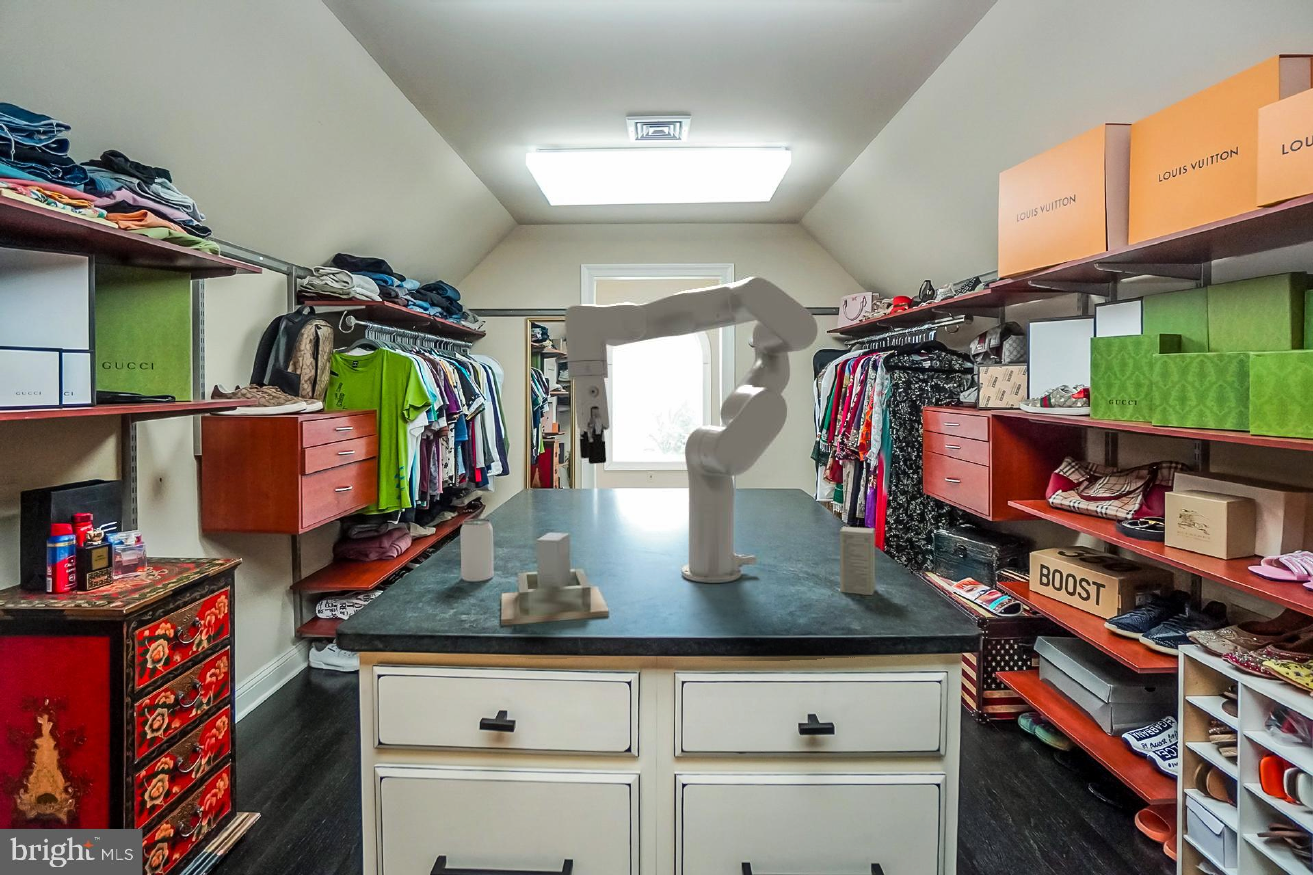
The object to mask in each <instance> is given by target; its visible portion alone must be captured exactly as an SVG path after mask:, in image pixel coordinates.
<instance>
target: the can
mask: <svg viewBox="0 0 1313 875" xmlns="http://www.w3.org/2000/svg"><path fill="white" fill-rule="evenodd" d="M461 523H462V526H460V527H461V528H460V531H459V532H460V566H461V568H460V569H461V573H460V574H461V579H462V580H463V581H464V582H467V583H481V582H486V581H489V580H491V579H492V578H493V576H494V574H495V573H494V533H493V532H494V529H493V526H492V524H491V519H488V518H471V519H466V520H464V521H462V522H461Z"/></svg>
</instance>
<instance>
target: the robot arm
mask: <svg viewBox="0 0 1313 875" xmlns="http://www.w3.org/2000/svg"><path fill="white" fill-rule="evenodd" d="M564 313H565V314H564V321H565V322H564V323H565V339H566V356H567V357H566V359H567V360H566V361H567V376H568V380H571V381H572V380H573V381H574V396H575V397H574V399H575V402H574V403H575V412H576V413H575V414H576V425H577V428H578V429H579V430H580V431H579V450H580V458H581V459H588V463H589V464H590V465H593V464H594V465H595V464H605V463H606V462H607V453H606V452H607V451H606V440H605V439H606V437H605V433H604V431H608V430H609V428H610V417H609V406H608V396H607V388H606V387H607V386H606V382H605V379H609V368H608V367H609V366H608V355H607V354H608V351H607V346H611V347H618V346H623V345H628V344H633V343H637V342H644V341H648V340H654V339H659V338H666V337H668V338H669V337H679V336H685V335H689V334H695V333H701V332H705V331H710V330H715V329H720V328H721V329H722V328H726V327H733V326H736V325H740V324H744V323H749V322H754V321H757V322H756V324H755V325H754V328H753V331H752V342H753V343H752V345H753V348H754V361H753V364H752V366H751V368H750V370H749V371H748V372H747V373H746V375H745V376H744V377H743V378H742V379H741V381H740V382H739V383H738V384H737V385H736V387H735V388H734V389H733V390H732V391H731V393H730V394H728V395H727V397H726V398H725V400H724V402H722V405H721V407H720V412H719V413H720V414H719V415H720V419H721V421H722V423H723V425H724V426H723V425H722V426H721V425H704V426H700V427H698V428H696V429H695V430H693V431H692V432H691V433H690V434H689V436H688V438H687V439H686V443H685V448H684V456H685V463H686V470H687V477H688V564H686V565H684V566H683V567H682V568H681V576H682V577H683V578H685V579H687V580H690V581H693V582H698V583H706V584H707V583H708V584H720V583H721V584H722V583H729V582H733V581H736V580H738V579H740V578H741V576H742V569H741V568H742V567H743V566H755V565H756V564H757V558H756V556H755V555H747V556H746V554H738V553H736V552H735V484H734V479H733V477H735V476H740V475H742V474H744V473H746V472H747V471H749V470H750V469H751V468H752V467H753V466H754V465H755V463H756V462H757V461H758V460H759V459H760V457H761V456H762V455H763V454H764V453H765V452H766V450H767V449H768V447H769V446H770V445H771V444H772V443H773V441H774V440H775V439H776V437H777V436H778V435H779V434H780V433H781V430H783V427H784V425H785V423H786V421H787V417H788V406H787V403H786V399H785V397H784V396H783V395H782V393H783V392H784V390H785V389H786V387H787V386H788V384H789V382H790V378H791V376H790V375H791V366H790V365H791V364H790V358H789V357H790V356H789V353H792V352H794V353H795V352H800V351H804V350H806V349H808V348H809V347H811V345H813V344H814V343H815V341H816V339H817V337H818V332H819V331H818V330H819V329H818V323H817V321H816V319H815V316H814V315H813V314H812V312H811V311H809V310H808V309H807V308H806V307H804V306H803V305H802V304H801V303H799V301H797V300H795V299H794V298H793V297H792V296H790V294H788V293H787V292H785V291H784V290H782V289H781V288H780V287H778V286H777V285H775V284H774V283H772V282H771V281H769V280H767V279H766V278H763V277H760V276H751V277H748V278H745V279H743V280H739V281H736V282H732V283H731V282H730V283H727V284H720V285H716V286H710V287H706V288H705V287H704V288H697V289H692V290H685V291H681V292H678V293H674V294H671V295H667V296H665V297H663V298H659V299H657V300H653V301H651V302H650V301H649V302H645V303H640V304H636V303H631V302H623V303H615V304H609V305H608V304H607V305H597V304H575V305H571V306H569V307H567V308H566V309H565V312H564Z"/></svg>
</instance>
